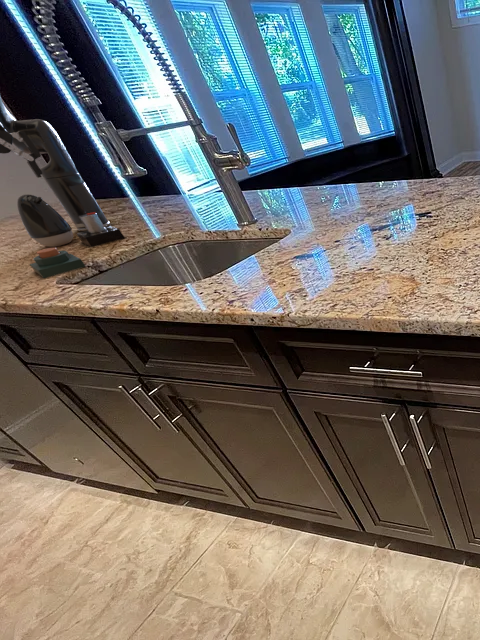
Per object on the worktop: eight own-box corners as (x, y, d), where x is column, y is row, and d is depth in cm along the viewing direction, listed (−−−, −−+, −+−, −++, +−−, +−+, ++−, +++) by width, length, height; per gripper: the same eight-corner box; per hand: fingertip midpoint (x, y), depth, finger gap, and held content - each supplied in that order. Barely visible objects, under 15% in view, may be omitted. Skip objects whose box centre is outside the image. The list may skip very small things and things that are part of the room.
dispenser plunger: (39, 257, 113) (35, 251, 112) (58, 253, 116) (54, 246, 115) (43, 260, 111) (38, 253, 110) (62, 255, 114) (57, 248, 113)
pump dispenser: (55, 249, 132) (18, 198, 123) (31, 249, 134) (-7, 199, 125) (87, 239, 140) (55, 190, 131) (64, 239, 142) (30, 191, 133)
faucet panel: (82, 242, 137) (75, 232, 135) (114, 234, 143) (109, 225, 141) (91, 247, 132) (84, 236, 130) (125, 238, 138) (118, 228, 136)
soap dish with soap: (35, 271, 115) (24, 257, 113) (75, 261, 121) (66, 247, 119) (44, 278, 110) (32, 263, 108) (86, 266, 116) (76, 252, 114)
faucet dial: (91, 233, 133) (79, 216, 130) (87, 232, 135) (76, 214, 132) (107, 230, 136) (97, 212, 133) (103, 228, 138) (93, 211, 135)
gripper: (4, 104, 106) (50, 175, 116) (-79, 109, 97) (-23, 185, 107) (9, 102, 102) (56, 175, 112) (-77, 107, 93) (-18, 186, 103)
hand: (18, 180), depth 109 cm, fingers open, 8 cm apart
